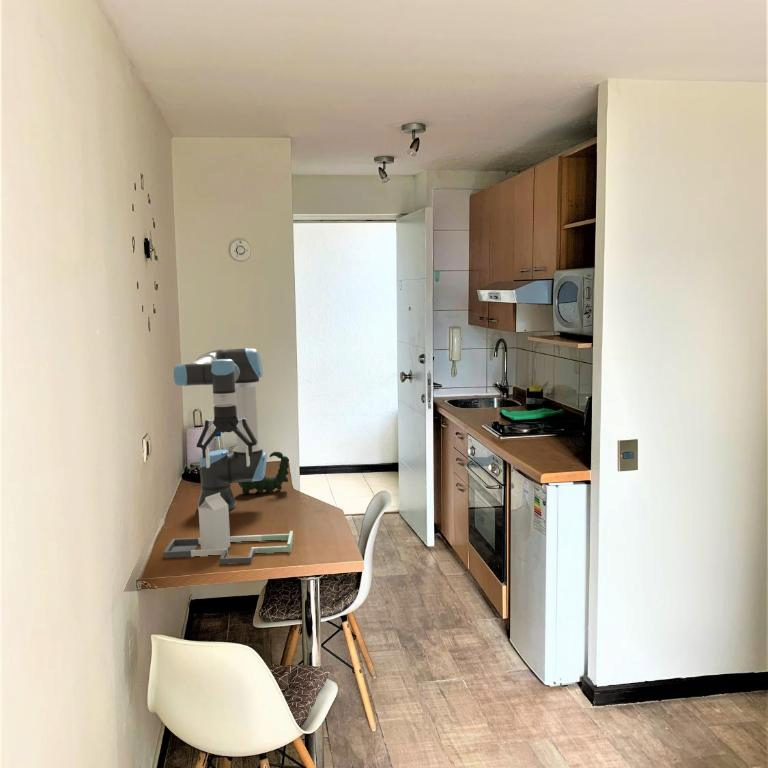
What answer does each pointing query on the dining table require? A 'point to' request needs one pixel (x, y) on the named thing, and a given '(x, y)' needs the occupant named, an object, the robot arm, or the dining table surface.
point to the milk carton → (214, 523)
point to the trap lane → (188, 546)
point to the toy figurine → (269, 478)
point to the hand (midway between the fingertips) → (228, 466)
